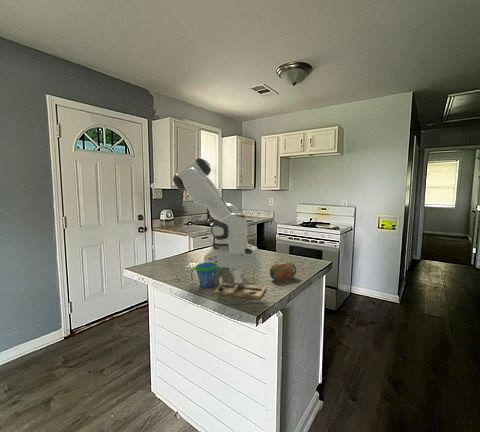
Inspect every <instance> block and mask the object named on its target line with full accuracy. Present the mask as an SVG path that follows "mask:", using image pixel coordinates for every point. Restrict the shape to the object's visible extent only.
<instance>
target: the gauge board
mask: <svg viewBox="0 0 480 432" xmlns="http://www.w3.org/2000/svg"><path fill="white" fill-rule="evenodd" d="M233 283H234V282H232V283H231V282H224V281H223V290H219V285H218V286H216V287H215V289H213V290H212V294H213V293H214V294H215V295H222V294H223V295H222V296H232V297H241V298H249V299H256V300H257V299H258V300H260V299H261V298H262V296H263V295H264V293H265V291H266V290H267V286H264V285H254V284H244V285H243V286H242V287H237V290H236V291H234V287H233Z"/></svg>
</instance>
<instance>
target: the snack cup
mask: <svg viewBox="0 0 480 432" xmlns="http://www.w3.org/2000/svg"><path fill="white" fill-rule="evenodd" d="M200 263H201V262H200ZM200 263H199V264H197V265H196V266H194V267H193V268H192V269H191V271H190V276H191V277H190V278H191V281H193V280H194V279H193V272H194V270H196V273H197V277H198V282H199V287H202V288H212V287H214V286H215V285H216V279H217V271H218V269H220V273H221V276H220V277H224V271H223V268H221V267H219V268H218V265H217V264H216V263H201V264H200Z"/></svg>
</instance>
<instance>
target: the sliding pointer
mask: <svg viewBox="0 0 480 432" xmlns="http://www.w3.org/2000/svg"><path fill="white" fill-rule="evenodd" d="M233 271H234V277H233V278H234V281H233V282H232V283H233V287H234V291H236V290H237V287H242V286H243V285H245V281H244V280H243V279H244V278H241V274H243V269H237V268H234V269H233Z"/></svg>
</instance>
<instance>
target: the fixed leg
mask: <svg viewBox="0 0 480 432" xmlns="http://www.w3.org/2000/svg"><path fill="white" fill-rule="evenodd" d="M223 277H224V276H223ZM223 277H221V276H219V277H218V286H219V290H223V282H224V280H223V279H224V278H223Z"/></svg>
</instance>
